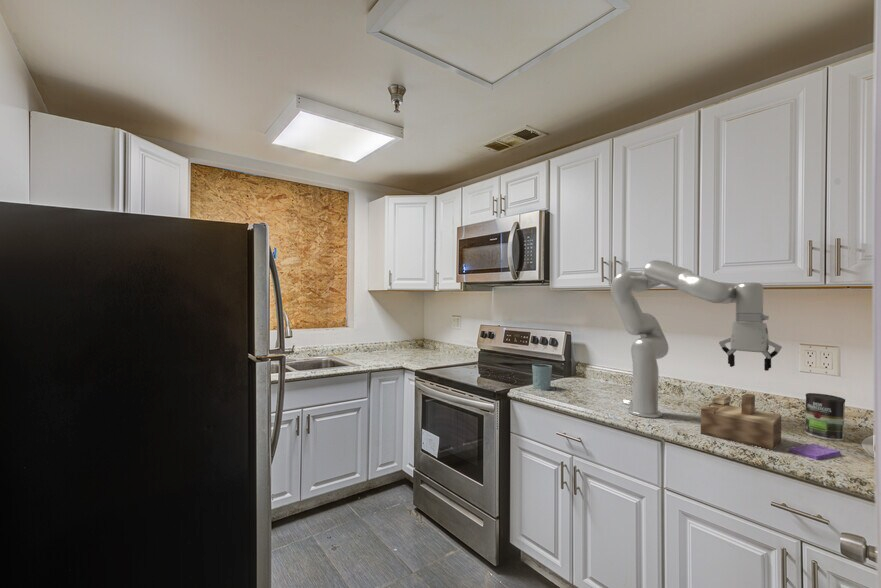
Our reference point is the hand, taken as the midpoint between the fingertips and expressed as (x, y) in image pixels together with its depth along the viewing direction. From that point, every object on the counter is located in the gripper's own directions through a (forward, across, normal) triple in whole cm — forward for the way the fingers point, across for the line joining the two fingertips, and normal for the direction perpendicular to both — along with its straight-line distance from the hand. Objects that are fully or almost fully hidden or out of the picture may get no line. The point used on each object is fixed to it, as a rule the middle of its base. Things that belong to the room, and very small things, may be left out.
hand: (749, 368), depth 139 cm
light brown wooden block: (+15, +10, -9) cm, 20 cm away
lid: (+16, +2, 0) cm, 16 cm away
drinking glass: (+24, +88, -7) cm, 92 cm away
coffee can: (+25, -16, -27) cm, 40 cm away
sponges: (+25, -17, -2) cm, 30 cm away
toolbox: (+24, +3, -3) cm, 25 cm away
